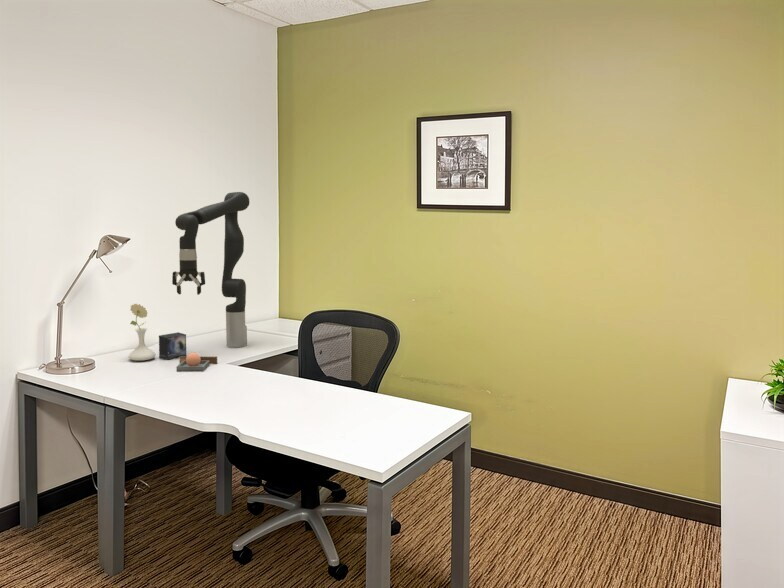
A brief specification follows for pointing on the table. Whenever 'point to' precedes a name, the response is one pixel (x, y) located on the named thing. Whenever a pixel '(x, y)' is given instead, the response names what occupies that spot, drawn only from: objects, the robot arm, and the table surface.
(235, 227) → the robot arm
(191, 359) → the ball
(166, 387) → the table surface
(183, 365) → the tray
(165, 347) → the small box
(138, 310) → the flower in vase
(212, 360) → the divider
